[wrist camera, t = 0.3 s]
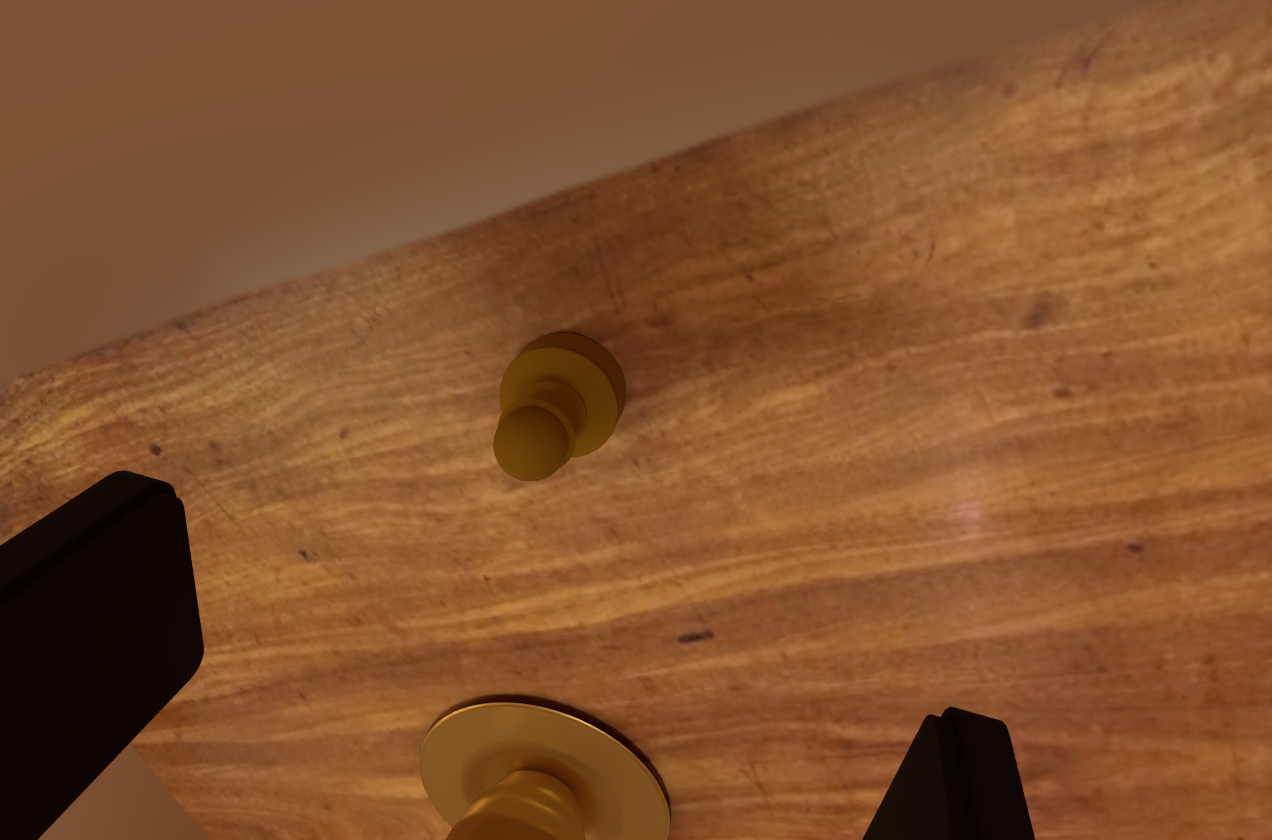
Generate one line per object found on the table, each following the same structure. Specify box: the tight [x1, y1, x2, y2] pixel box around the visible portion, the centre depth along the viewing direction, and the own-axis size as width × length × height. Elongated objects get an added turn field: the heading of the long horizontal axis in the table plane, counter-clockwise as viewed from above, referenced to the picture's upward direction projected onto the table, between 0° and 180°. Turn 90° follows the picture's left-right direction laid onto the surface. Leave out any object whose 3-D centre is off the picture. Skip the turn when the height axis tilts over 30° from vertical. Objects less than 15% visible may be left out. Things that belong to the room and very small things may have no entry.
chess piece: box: [493, 333, 626, 481], centre depth 24 cm, size 4×4×5 cm
